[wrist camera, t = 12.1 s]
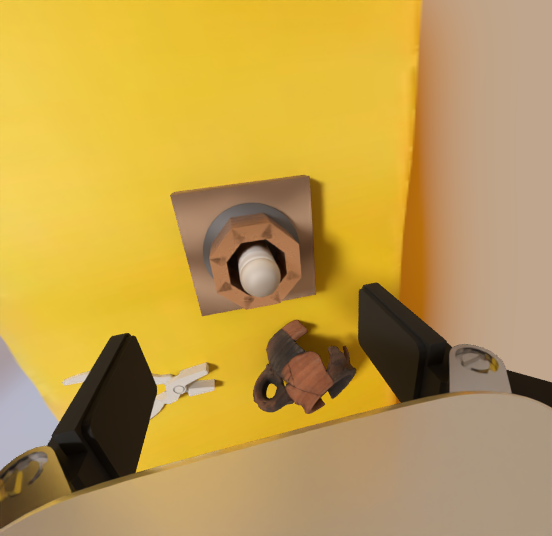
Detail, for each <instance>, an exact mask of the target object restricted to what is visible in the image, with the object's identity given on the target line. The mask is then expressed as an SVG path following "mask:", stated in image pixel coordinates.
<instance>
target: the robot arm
mask: <svg viewBox="0 0 552 536" xmlns="http://www.w3.org/2000/svg"><path fill="white" fill-rule="evenodd" d="M358 340H359V344H360V346H361V347H362V349H363V350H364V352H365V353H366V354H367V356H368V357H369V359H370V360H371V361H372V363H373V364H374V366H375V367H376V368H377V370H378V371H379V373H380V374H381V375H382V377H383V378H384V380H385V381H386V382H387V384H388V385H389V387H390V388H391V390H392V391H393V392H394V394H395V395H396V397H397V398H398V399H399V401H400V402H401V403H399V404H394V405H390V406H386V407H382V408H378V409H374V410H370V411H367V412H363V413H359V414H355V415H351V416H347V417H343V418H339V419H335V420H332V421H328V422H324V423H320V424H316V425H312V426H308V427H305V428H301V429H297V430H293V431H289V432H286V433H282V434H278V435H274V436H270V437H267V438H263V439H259V440H255V441H251V442H248V443H244V444H240V445H236V446H233V447H229V448H225V449H221V450H218V451H214V452H210V453H207V454H203V455H199V456H195V457H192V458H188V459H184V460H181V461H177V462H173V463H169V464H166V465H162V466H158V467H155V468H151V469H148V470H144V471H141V472H137V473H135V472H136V469H137V465H138V461H139V457H140V454H141V450H142V446H143V443H144V439H145V435H146V432H147V428H148V424H149V420H150V417H151V413H152V409H153V406H154V402H155V398H156V395H157V386H156V383H155V380H154V378H153V376H152V373H151V371H150V369H149V366H148V364H147V362H146V359H145V357H144V355H143V352H142V350H141V348H140V345H139V343H138V341H137V338H136V337H135V336H131V335H130V334H129V333H125V334H120V335H116V336H112V337H111V338H110V339H109V341H108V342H107V344H106V346H105V347H104V349H103V351H102V352H101V354H100V356H99V357H98V359H97V361H96V362H95V364H94V366H93V367H92V369H91V371H90V372H89V374H88V376H87V377H86V379H85V381H84V382H83V384H82V386H81V387H80V389H79V391H78V392H77V394H76V396H75V397H74V399H73V401H72V402H71V404H70V406H69V407H68V409H67V411H66V412H65V414H64V416H63V417H62V419H61V421H60V422H59V424H58V426H57V427H56V429H55V431H54V432H53V434H52V438H51V440H50V442H49V443H48V445H47V446H41V447H36V448H33V449H31V450H28V451H26V452H25V453H23V454H21V455H19V456H18V457H16V458H15V459H13V460H12V461H11V462H10V463H8V464H7V465H6V466H5V467H4V468H3V469H2V470H1V471H0V536H552V382H548V381H545V380H541V379H537V378H534V377H530V376H527V375H523V374H519V373H516V372H512V371H509V370H506V368H505V365H504V363H503V361H502V360H501V359H500V358H499V357H498V356H497V355H495V354H494V353H492V352H491V351H489V350H487V349H484V348H482V347H479V346H475V345H468V344H462V345H457V346H454V347H451V346H450V345H449V344H448V343H447V341H446V340H445V339H444V338H443V337H441V336H440V335H439V334H438V333H437V332H435V331H434V330H433V329H432V328H431V327H429V326H428V325H427V324H426V323H425V322H424V321H422V320H421V319H420V318H419V317H418V316H416V315H415V314H414V313H413V312H412V311H411V310H409V309H408V308H407V307H406V306H404V305H403V304H402V303H401V302H400V301H399V300H397V299H396V298H395V297H394V296H393V295H392V294H390V293H389V292H388V291H387V290H386V289H384V288H383V287H382V286H381V285H380V284H378V283H371V284H366V285H363V287H362V289H360V290H359V321H358Z"/></svg>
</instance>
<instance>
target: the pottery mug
mask: <svg viewBox="0 0 552 536" xmlns="http://www.w3.org/2000/svg"><path fill="white" fill-rule="evenodd" d="M306 333H307V329H306V328H305V326H303V325H302V324H301V323H300V322H299V321H298V320H294V321H292V322H290V323H288V324H287V325H286V326H284V327H283V328H282V329H280V330H279V331H278V332H277V333H276V334H274V336H273V337H272V338H271V339H270V341H269V343H268V345H267V349H266V351H267V355H268V360H269V364H267V365H266V368H265V370H264V371H263V372H262V373H261V375H260V376H259V378H258V379H257V381H256V383H255V386H254V390H253V397H254V402H255V403H257V404H258V406H259V408H260V409H261V410H263V411H266V412H275V411H277V410H279V409H281V408H282V407H283V406H285V405H287V404H293V403H294V402H295V404H297V405H301V406H302V407H303V409H304V410H305V413H307V414H310V413H313V412H314V411H316V410H318V409H320V408H321V407H323V406H324V405H325V403H324V402H323V401H322V399H321V397H322V396H323V395H324V394H325V393H326V392H327V391H328V392H329V394H330V396H331V398H332V399H333V398H335V397H336V396H337V395H338V394H339V393H340V392H341V391H342V390H343V389H344V388H345V387H346V386H347V385H348V384H349V382H350V381H351V380H352V378H353V377H354V375H355V373H356V369H355V368H353V367H352V366H351V364H350V357H349V353H348V350H347V348H346V346H343V350H344V354H343V353H342V352H341V351H339V349H338V348H337V347H335V346H330V347H328V351H329V354H330V357H329V364H328V367H327V369H325V367H324V365H323V363H322V360H321V358H320V356H319V355H318V354H317V353H315V352H313V351H308V352H305V350H304V349H302V348H301V347H300V346H299V345H298V344H297V343H296V341H297V340H298V338H300V337H301V336H303V335H304V334H306ZM282 378H283V379H284V380H285V381H286V382H288V383H287V384H286V386H284V383H283V379H282ZM271 383H272V384H274V385H275V386H276V387H277V390H276V393H275V395H274V397H273V398H270V399H269V398H267V396H266V391H267V387H268V385H269V384H271Z"/></svg>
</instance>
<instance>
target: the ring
mask: <svg viewBox="0 0 552 536" xmlns="http://www.w3.org/2000/svg"><path fill="white" fill-rule="evenodd" d="M264 239H266V240H268V241H269V242H271V243H272V244H273V245H275V246H276V247H277V255H278V258H277V259H276V260H275V262H276V264H277V266H278V268H279V271H280V275H281V279H280V284H279V286H278V288H277V289H276V290H275V291H274V292H273V293H272V294H271V295H269V296H266V297H255V296H252V295H250V294H249V293H247V292H246V291H245V290H244V288H243V287H242V285H241V281H240V275H239V271H237V270H236V269H234V268H232V267H231V266H230V265H229V258H230V257H231V256H232V254H233V253H234V252H235V250H236V249H237V248H238V246H239V245H240V244H241V243H245V242H251V241H257V240H264ZM209 260H210V265H211V269H212V273H213V278H214V282H215V287H216V291H217V293H218V294H220V295H222V296H224V297H225V298H227V299H229V300H231V301H232V302H234V303H236V304H238V305H239V306H241V307H243V308H244V309H252V308H257V307H262V306H267V305H272V304H278V303H280V302H281V301H282V300H283V299H284V298H285V296H286V295H287V294H288V293H289V292H290V290H291V289H292V288H293V287H294V286H295V285H296V283H297V282H298V281H299V280H300V279H301V264H300V251H299V244H298V243H297V241H296V240H295V239H294V238H293V237H292V236H291V235H290V233H289V232H288V231H287V230H285V229H284V228H283V227H281V226H280V225H279V224H277V223H276V222H275V221H273V220H272V219H271V218H270V217H268V216H267V215H266V214H264V213H257V214H250V215H243V216H236V217H230V218H229V220H228V221H227V223H226V224H225V225H224V227H223V228H222V229H221V231H220V232H219V234H218V235H217V236H216V238H215V239H214V241H213V242H212V243H211V250H210V257H209Z"/></svg>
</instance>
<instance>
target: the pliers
mask: <svg viewBox="0 0 552 536" xmlns="http://www.w3.org/2000/svg"><path fill="white" fill-rule="evenodd" d="M89 372H90V371H88V372H84V373H80V374H78V375H75V376H72V377H70V378H67V379H65V380H64V381H63V382H62V383H63V384H64V385H70V384H75V383H81V382H84V381H85V379H86V377H87V376H88V374H89ZM208 373H209V365H208V364H207V362H206V363H203V364H200V365H197V366H194V367H191V368H188V369H185V370H182V371H181V372H180V373H179V375H177V376H174V375H171V374H167V375H158V374H152V376H153V378H154V380H155V383H156V384H165V385H166V391H165V392H163V393H161V394H159V395H157V396H156V398H155V402H154V406H153V409H152V413H151V417H150V419H151V418H152V417H154V416H155V415H156V414H157V413H158V412H159V411H160V410H161V408H162V407H163V406H164V404H171V403H173V402H175V401H177V400H178V398H179V396H180V394H183V393H184V392H188V394H189V396H193V395H197V394H201V393H206V392H210V391H214V386H215V379H212V380H200V381H195V380H197V379H199V378H200V377H202V376H204V375H206V374H208Z"/></svg>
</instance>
